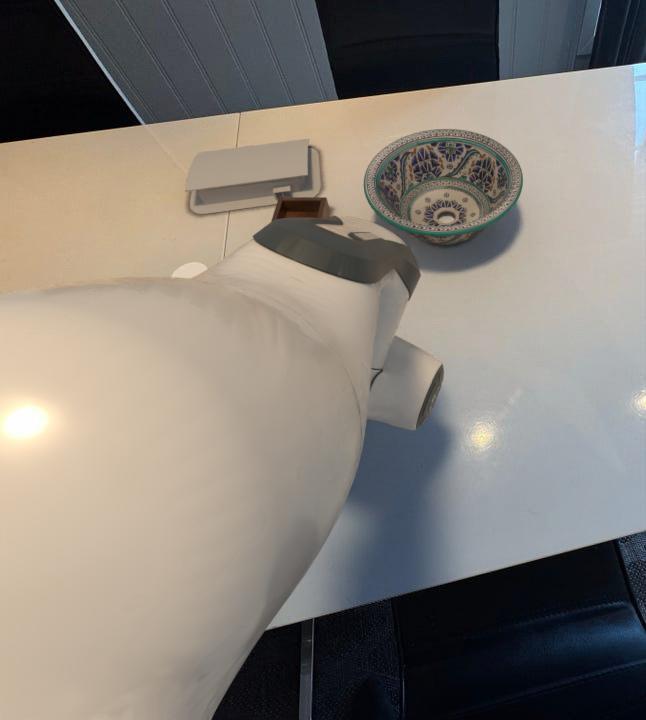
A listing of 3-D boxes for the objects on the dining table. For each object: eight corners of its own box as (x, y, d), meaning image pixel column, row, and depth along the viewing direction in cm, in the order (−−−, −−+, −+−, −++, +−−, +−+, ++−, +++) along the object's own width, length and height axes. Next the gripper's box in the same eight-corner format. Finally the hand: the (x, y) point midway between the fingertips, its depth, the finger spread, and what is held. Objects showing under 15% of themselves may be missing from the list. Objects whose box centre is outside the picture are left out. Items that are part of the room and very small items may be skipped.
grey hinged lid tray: (321, 198, 91) (315, 179, 87) (188, 216, 88) (176, 198, 85) (318, 145, 99) (312, 127, 95) (195, 161, 96) (185, 142, 93)
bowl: (409, 163, 96) (402, 116, 88) (536, 192, 91) (541, 145, 83) (348, 255, 83) (334, 210, 75) (492, 294, 79) (493, 251, 71)
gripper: (349, 255, 56) (250, 219, 59) (227, 405, 46) (116, 351, 50) (361, 292, 62) (269, 256, 65) (254, 432, 52) (152, 382, 55)
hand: (202, 298), depth 57 cm, fingers closed on supplement bottle, 5 cm apart
